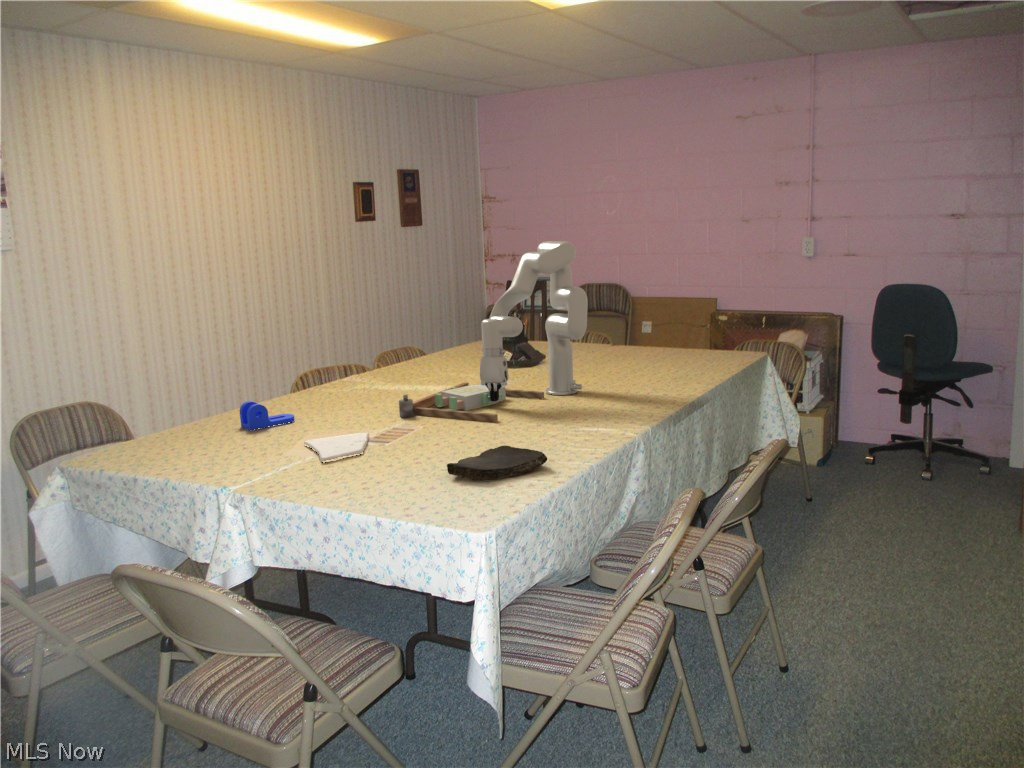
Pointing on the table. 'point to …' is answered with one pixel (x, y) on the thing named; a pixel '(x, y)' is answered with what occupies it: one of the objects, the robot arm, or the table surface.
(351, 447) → the flat white fragment
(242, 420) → the bracket
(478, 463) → the stone slab
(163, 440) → the table surface
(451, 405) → the decorative block
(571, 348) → the robot arm
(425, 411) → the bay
